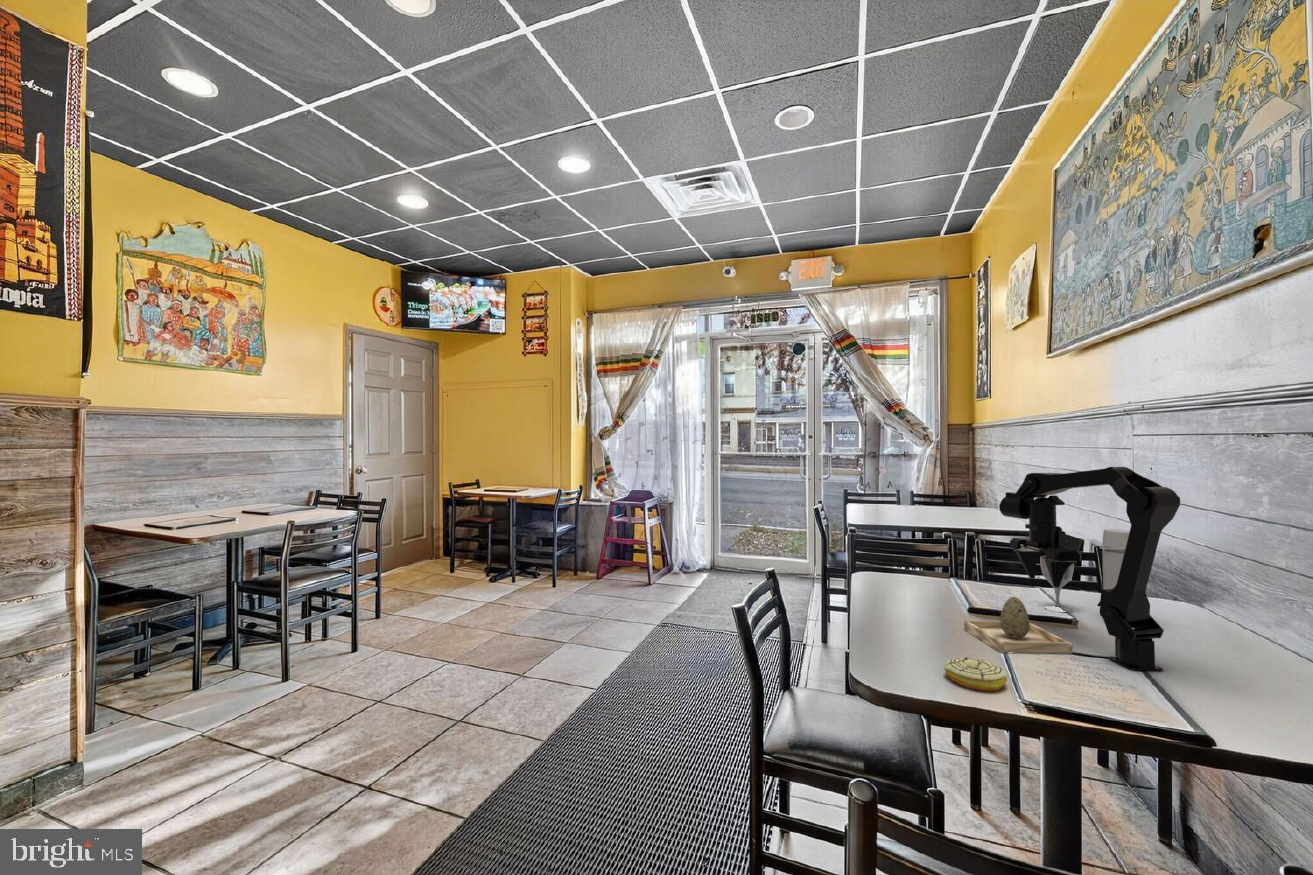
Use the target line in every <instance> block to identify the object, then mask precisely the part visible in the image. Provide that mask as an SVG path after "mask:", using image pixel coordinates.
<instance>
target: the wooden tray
mask: <svg viewBox="0 0 1313 875" xmlns="http://www.w3.org/2000/svg"><path fill="white" fill-rule="evenodd" d="M963 621H964V624H963V625H964V631H966V632H967V633H968V634H970V635H972V636H973V637H975V638H976V639H978V640H980V641H981V642H983V643H984V644H985V645H987V646H989V647H991V648H992V649H994V650H995V651H997V652H998V653H1000V654H1006V653H1005V652H1014V653H1013V654H1032V653H1061V654H1060V655H1073V643H1072V642H1069V641H1068V640H1065V639H1063V637H1062V638H1061V637H1059V636H1057V635H1055V634H1053V633H1051V632H1049V631H1047V630H1045V629H1043V628H1042V627H1039V626H1037V625H1036V624H1033V623H1031V622H1029V624H1030V626H1029V631H1028V633H1027V635H1026V636H1024V637H1023V638H1019V639H1015V638H1011V637H1010V636H1008V635H1007V634H1006V633H1005V632H1004V631H1003V629H1002V627H1001V622H1000V620H963Z"/></svg>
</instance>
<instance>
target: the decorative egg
mask: <svg viewBox="0 0 1313 875" xmlns="http://www.w3.org/2000/svg"><path fill="white" fill-rule="evenodd" d="M999 621H1000V622H1001V627H1002V629H1003V631H1004V632H1005V633H1006V634H1007V635H1008V636H1010V637H1011V638H1015V639H1019V638H1023V637H1024V636H1026V635H1027V633H1028V631H1029V626H1030V624H1029V623H1030V618H1029V614H1028V611H1027V609H1026V607H1025V605H1024V603H1023V602H1022V600H1021V599H1020V598H1018V597H1016V596H1011V597H1009V598H1007V600H1006V601H1005V602H1004V604H1003V607H1002V609H1001V613H1000V618H999Z"/></svg>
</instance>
